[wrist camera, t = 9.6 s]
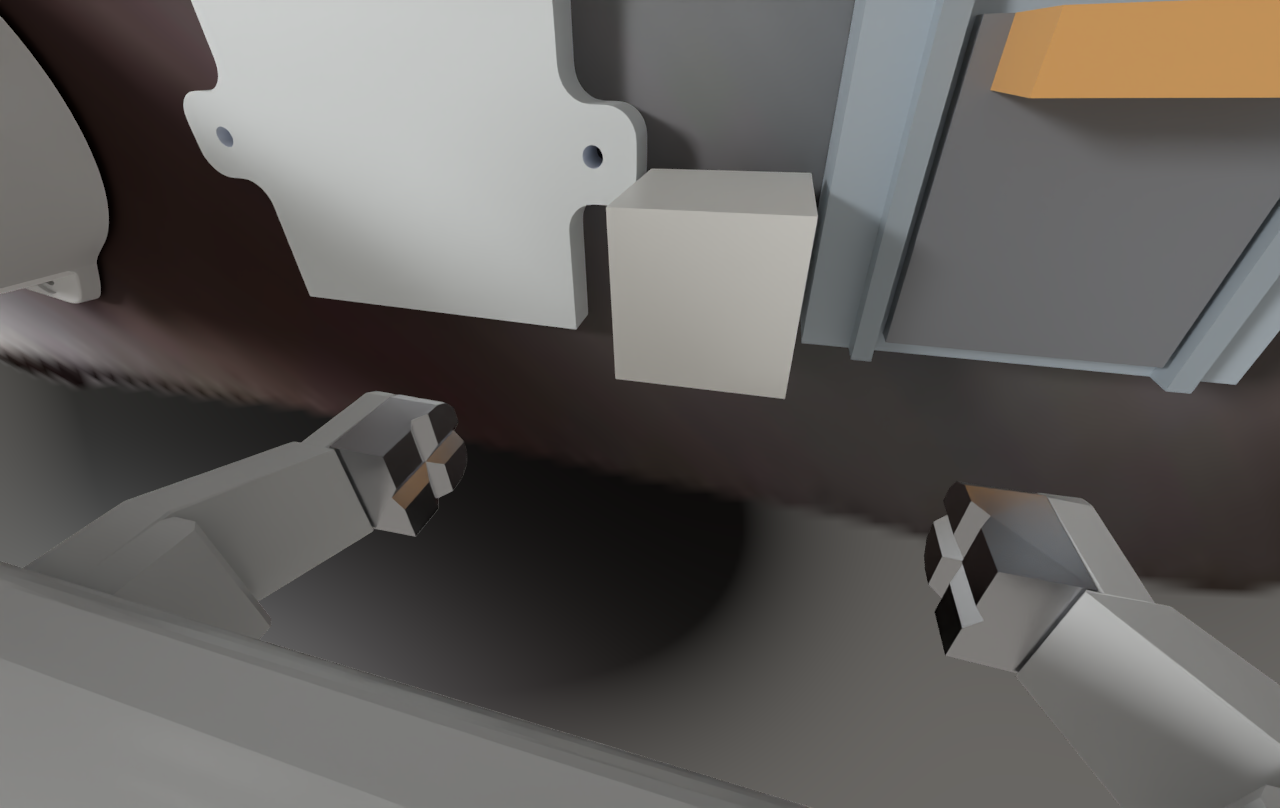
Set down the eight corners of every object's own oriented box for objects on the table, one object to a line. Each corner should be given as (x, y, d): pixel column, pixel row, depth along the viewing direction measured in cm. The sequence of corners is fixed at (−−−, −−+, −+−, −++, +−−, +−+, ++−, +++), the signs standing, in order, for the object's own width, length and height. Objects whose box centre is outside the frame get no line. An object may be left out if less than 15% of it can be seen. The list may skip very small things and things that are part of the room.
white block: (660, 295, 20) (615, 379, 15) (660, 160, 17) (605, 206, 12) (786, 305, 19) (785, 399, 14) (810, 163, 16) (818, 216, 11)
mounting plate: (296, 275, 25) (264, 290, 23) (150, -82, 17) (89, -95, 16) (646, 316, 21) (636, 336, 20) (654, -107, 14) (637, -126, 12)
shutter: (882, 333, 16) (898, 383, 13) (976, 15, 11) (1025, 6, 9) (1150, 357, 14) (1221, 418, 12) (1385, 0, 10) (1576, -15, 7)
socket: (800, 306, 19) (801, 354, 16) (943, -489, 10) (1011, -733, 7) (1172, 336, 17) (1256, 400, 14) (1866, -699, 7) (2654, -1246, 4)
